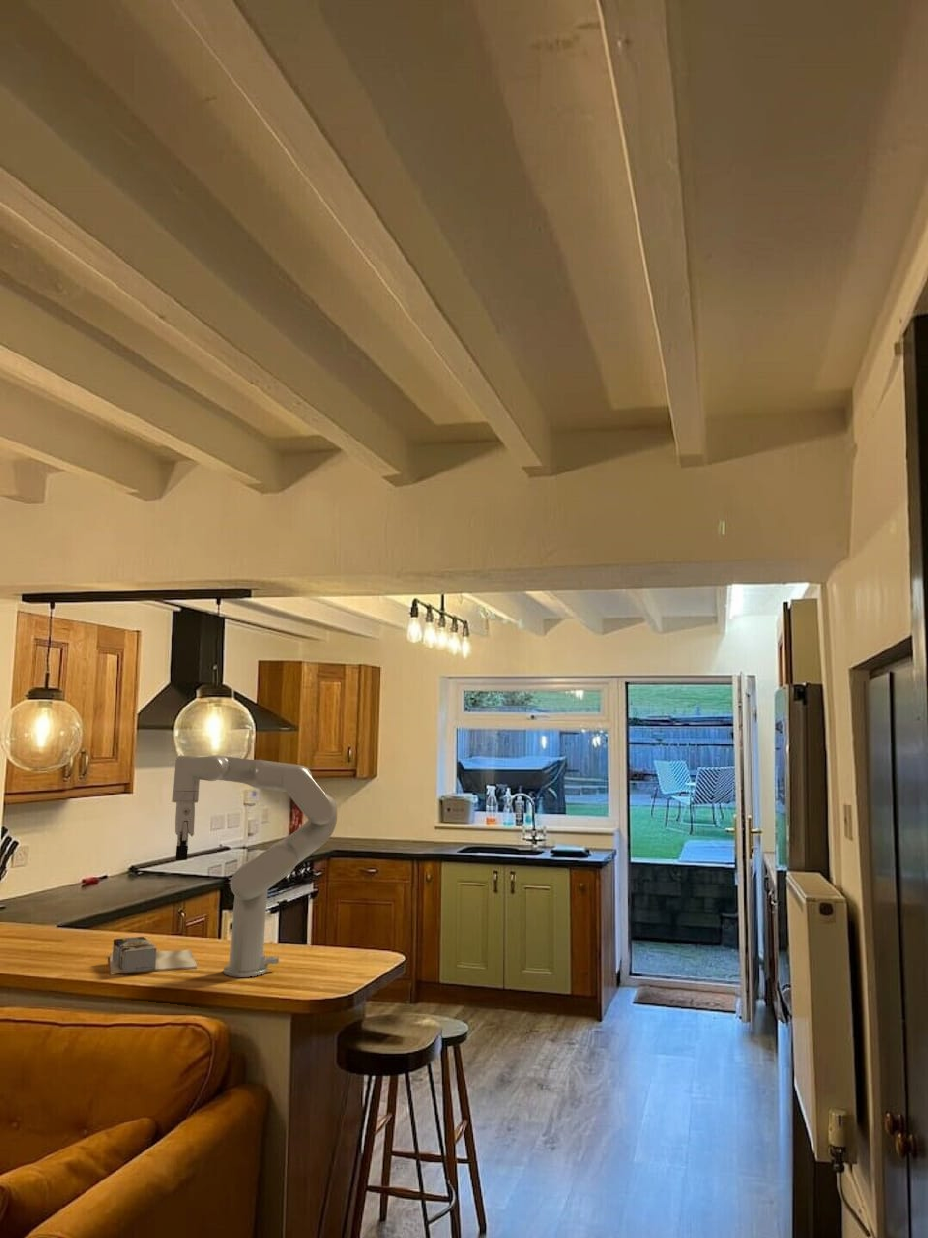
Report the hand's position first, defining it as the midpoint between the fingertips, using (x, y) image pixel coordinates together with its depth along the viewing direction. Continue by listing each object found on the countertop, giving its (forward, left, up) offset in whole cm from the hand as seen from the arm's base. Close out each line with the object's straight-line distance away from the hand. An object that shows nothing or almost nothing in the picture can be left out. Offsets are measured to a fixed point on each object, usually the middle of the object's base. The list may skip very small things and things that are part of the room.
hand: (181, 859), depth 260 cm
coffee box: (+9, 0, -28) cm, 30 cm away
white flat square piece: (+5, -13, -32) cm, 35 cm away
